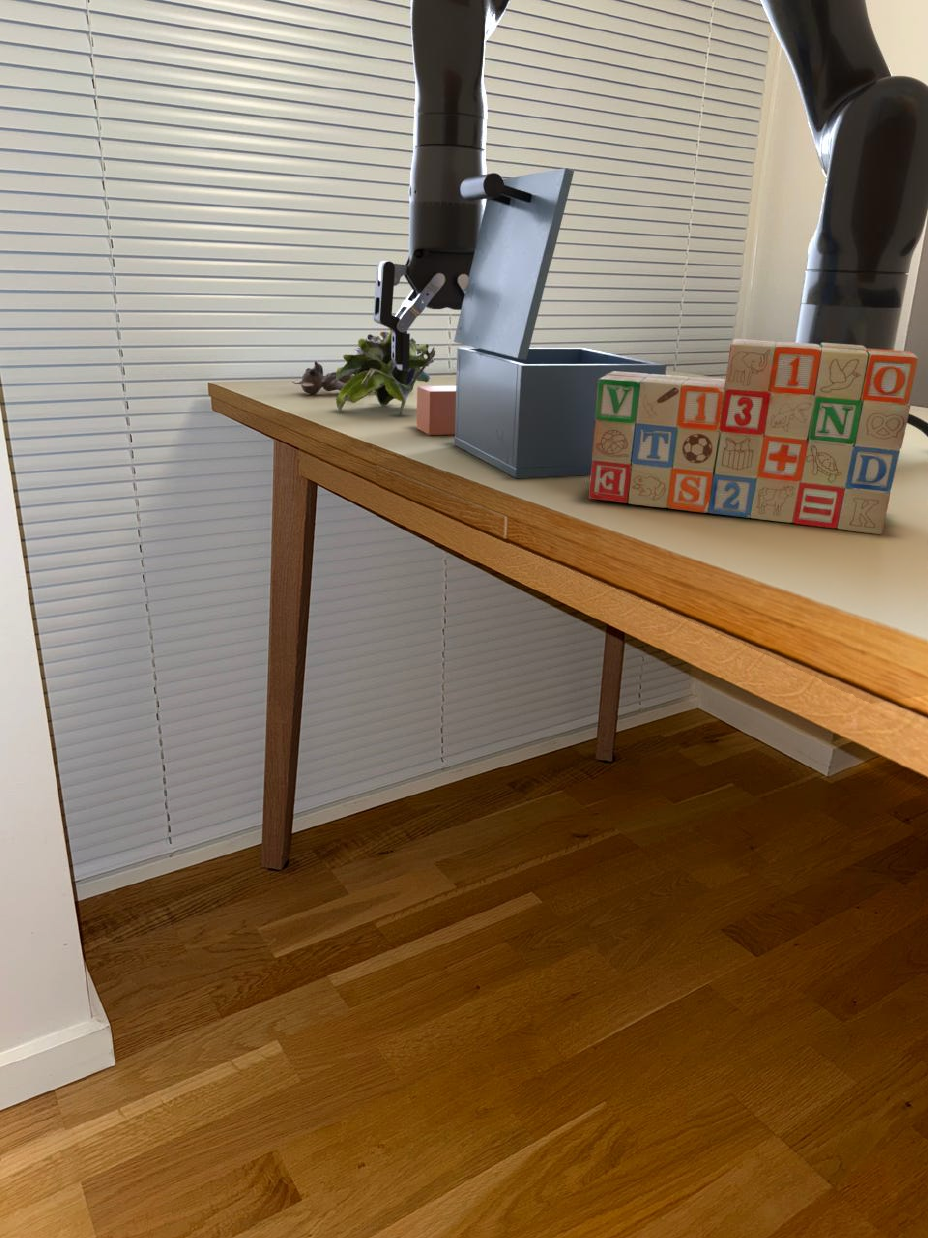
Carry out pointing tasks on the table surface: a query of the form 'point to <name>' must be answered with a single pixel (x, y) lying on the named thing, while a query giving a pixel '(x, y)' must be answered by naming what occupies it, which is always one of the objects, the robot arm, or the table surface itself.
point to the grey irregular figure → (321, 380)
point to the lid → (511, 258)
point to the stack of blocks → (760, 435)
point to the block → (436, 409)
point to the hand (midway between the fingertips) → (442, 370)
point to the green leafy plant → (382, 371)
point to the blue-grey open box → (534, 407)
